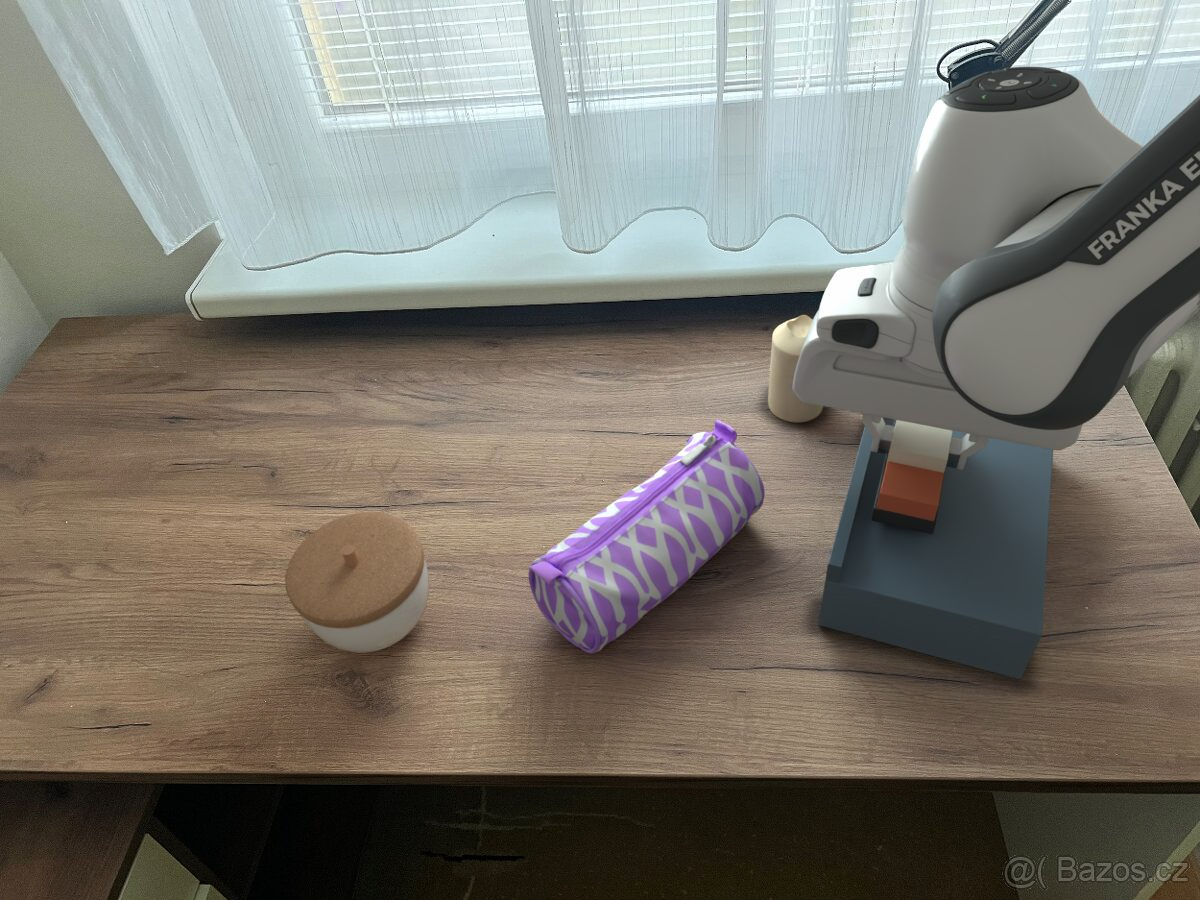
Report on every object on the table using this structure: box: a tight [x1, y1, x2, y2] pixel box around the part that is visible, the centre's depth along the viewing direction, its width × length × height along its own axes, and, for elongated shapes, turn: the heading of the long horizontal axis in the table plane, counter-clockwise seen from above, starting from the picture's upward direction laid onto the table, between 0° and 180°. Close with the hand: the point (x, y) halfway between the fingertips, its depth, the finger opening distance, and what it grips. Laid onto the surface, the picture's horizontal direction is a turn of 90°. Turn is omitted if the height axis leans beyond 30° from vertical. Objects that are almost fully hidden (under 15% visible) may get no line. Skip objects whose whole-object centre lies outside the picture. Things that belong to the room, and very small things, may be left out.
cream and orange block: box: [871, 420, 952, 534], centre depth 69 cm, size 12×5×5 cm, turn 158°
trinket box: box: [284, 511, 430, 653], centre depth 70 cm, size 11×11×9 cm
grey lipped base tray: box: [817, 417, 1054, 680], centre depth 72 cm, size 15×24×8 cm, turn 158°
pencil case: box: [528, 419, 765, 655], centre depth 72 cm, size 22×9×10 cm, turn 136°
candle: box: [767, 314, 824, 423], centre depth 84 cm, size 6×6×10 cm
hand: (916, 455), depth 70 cm, fingers closed on cream and orange block, 4 cm apart
